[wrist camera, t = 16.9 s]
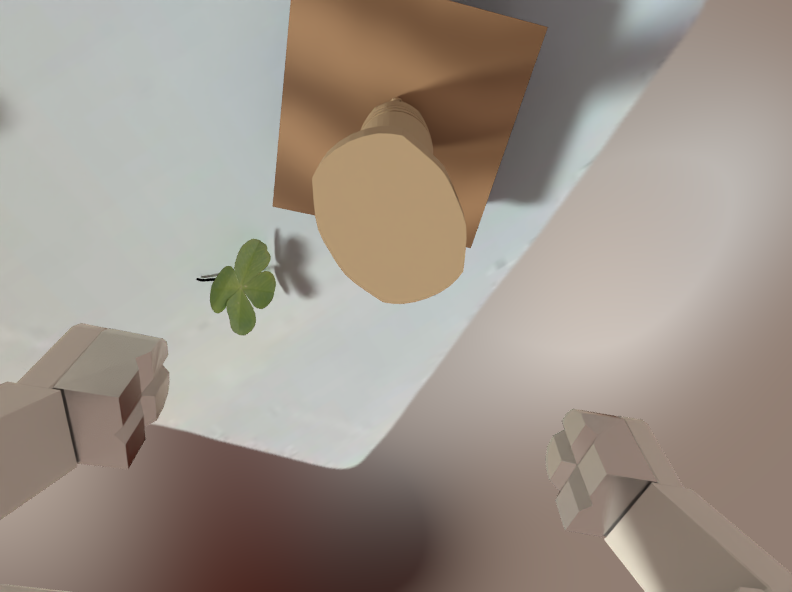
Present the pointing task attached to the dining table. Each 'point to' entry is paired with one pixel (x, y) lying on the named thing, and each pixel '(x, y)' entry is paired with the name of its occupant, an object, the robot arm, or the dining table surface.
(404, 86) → the stand
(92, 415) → the robot arm
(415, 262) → the handle
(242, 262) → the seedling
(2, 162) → the dining table surface
